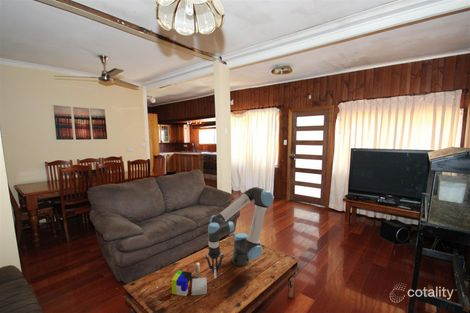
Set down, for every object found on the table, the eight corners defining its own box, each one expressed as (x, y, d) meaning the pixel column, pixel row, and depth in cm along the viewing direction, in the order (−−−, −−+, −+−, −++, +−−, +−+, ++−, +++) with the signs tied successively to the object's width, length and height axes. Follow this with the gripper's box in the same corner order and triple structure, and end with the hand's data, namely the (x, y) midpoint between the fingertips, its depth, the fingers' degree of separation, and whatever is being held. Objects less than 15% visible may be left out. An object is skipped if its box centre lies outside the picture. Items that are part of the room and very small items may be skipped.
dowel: (199, 274, 161) (199, 262, 160) (199, 277, 157) (199, 265, 156) (194, 275, 160) (194, 262, 159) (194, 278, 157) (194, 265, 156)
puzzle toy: (185, 296, 139) (185, 282, 138) (171, 293, 141) (171, 279, 140) (191, 285, 149) (191, 272, 148) (178, 283, 151) (178, 270, 150)
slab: (206, 282, 154) (206, 277, 153) (206, 294, 142) (206, 289, 141) (192, 283, 152) (192, 278, 152) (191, 295, 140) (191, 290, 140)
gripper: (222, 241, 150) (223, 272, 153) (204, 243, 148) (205, 274, 151) (224, 247, 143) (224, 279, 146) (204, 249, 141) (206, 281, 144)
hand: (215, 276), depth 149 cm, fingers closed
